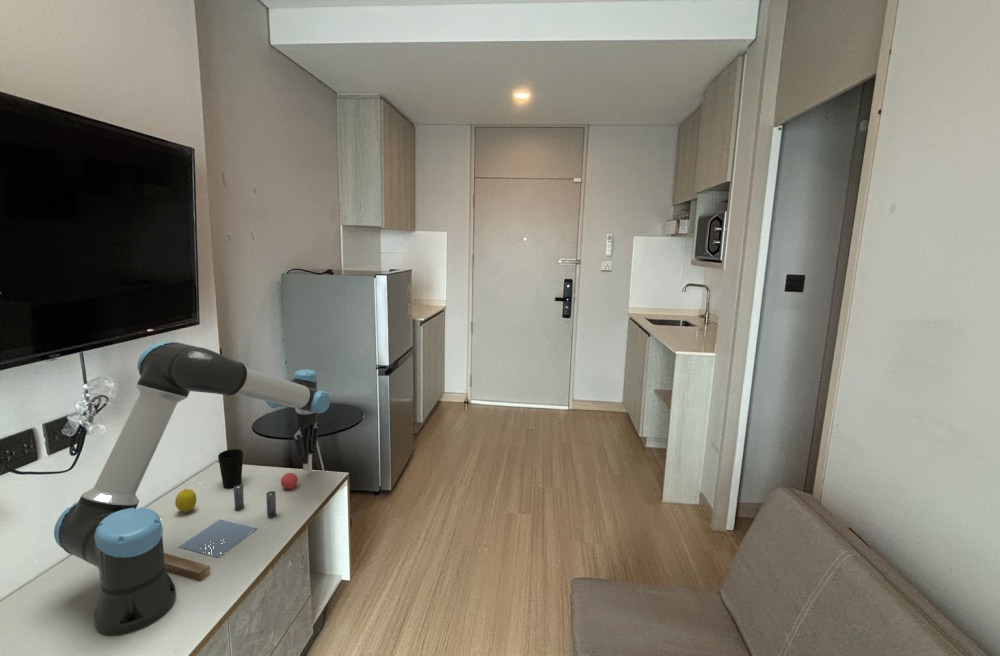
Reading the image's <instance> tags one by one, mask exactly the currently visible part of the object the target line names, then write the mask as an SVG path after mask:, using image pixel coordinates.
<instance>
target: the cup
mask: <svg viewBox="0 0 1000 656" xmlns="http://www.w3.org/2000/svg"><path fill="white" fill-rule="evenodd" d="M217 457H218V464H219V469H220V475H221V480H222V486H223V488H224V489H227V490H229V489H230V490H232V489H234V486H235V485H237V484H242V476H243V463H244V462H243V460H244V451H243V450H242V449H239V448H231V449H227V450H224V451H221V452H220V453H219V454H218V456H217Z"/></svg>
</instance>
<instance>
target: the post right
mask: <svg viewBox="0 0 1000 656" xmlns="http://www.w3.org/2000/svg"><path fill="white" fill-rule="evenodd" d="M276 496H277V495H276V491H275V490H270V491H268V492H266V518H268V519H273V517H274V518H275V517H276V516H277V504H276V503H277V500H276V499H277V498H276Z"/></svg>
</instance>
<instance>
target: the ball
mask: <svg viewBox="0 0 1000 656" xmlns="http://www.w3.org/2000/svg"><path fill="white" fill-rule="evenodd" d="M298 480H299V479H298V476H297V474H295V473H293V472H288V473H285V474H284V475H283V476H282V477H281V479H280V485H281V487H282V488H284V489H286V490H291V489H293V488H295V487H296V486H297V484H298Z"/></svg>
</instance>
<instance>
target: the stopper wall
mask: <svg viewBox="0 0 1000 656" xmlns="http://www.w3.org/2000/svg"><path fill="white" fill-rule="evenodd" d="M164 563H165V570H166V572H167V573H168V572H169V573H168V574H172V573H173V574H172V575H176V576H179V575H180V577H183V576H184V578H186V577H187V578H186V579H190V578H191V579H190V580H193V579H194V581H197V582H200V581H201V582H202V581H203V580H204V579H206V578H207V577H208V576H209V575H211V565H210V564H206V563H202V562H198V561H195V560H192V559H187V558H185V557H181V556H180V557H179V556H176V555H173V554H170V553H165V552H164Z"/></svg>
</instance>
